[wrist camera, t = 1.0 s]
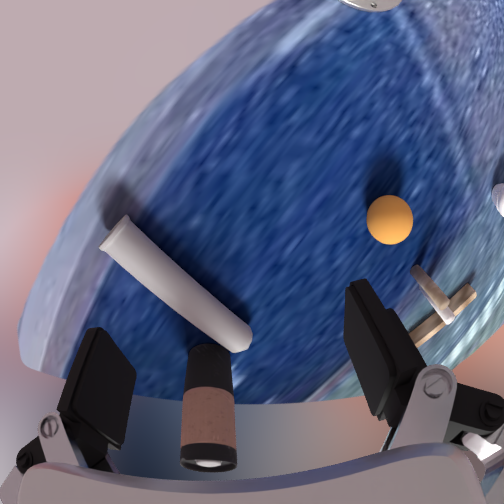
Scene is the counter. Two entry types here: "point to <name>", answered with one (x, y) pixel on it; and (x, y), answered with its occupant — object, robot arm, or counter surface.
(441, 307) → the birch pin
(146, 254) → the tube
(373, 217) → the ball
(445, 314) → the white pin
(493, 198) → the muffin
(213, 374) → the travel mug
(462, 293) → the rail
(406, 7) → the counter surface
